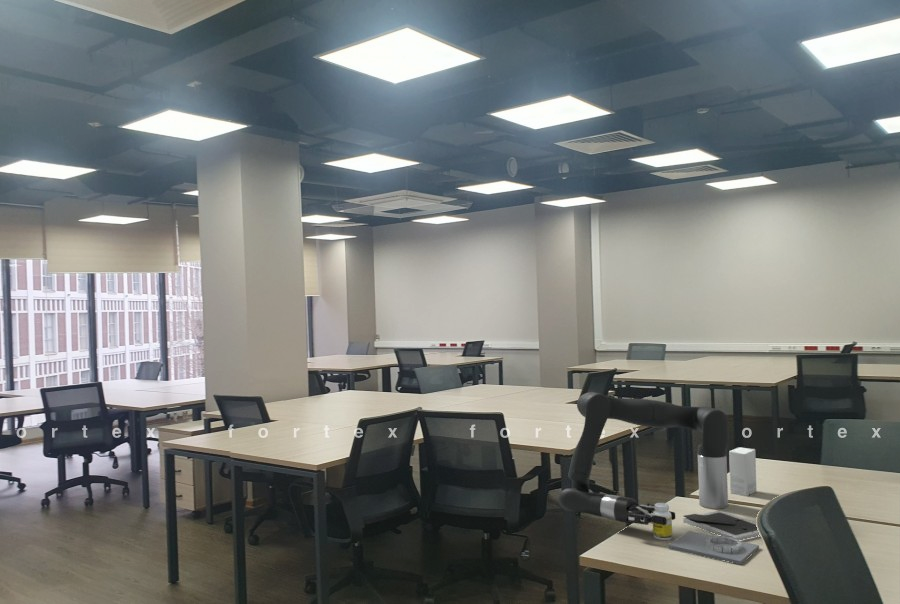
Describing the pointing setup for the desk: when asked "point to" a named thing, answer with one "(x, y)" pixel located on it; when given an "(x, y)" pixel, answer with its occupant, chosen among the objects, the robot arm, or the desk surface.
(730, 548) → the steel ring collar
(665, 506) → the supplement bottle
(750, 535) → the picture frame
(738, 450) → the skincare box
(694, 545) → the grey flat rectangular slab
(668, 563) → the desk surface
